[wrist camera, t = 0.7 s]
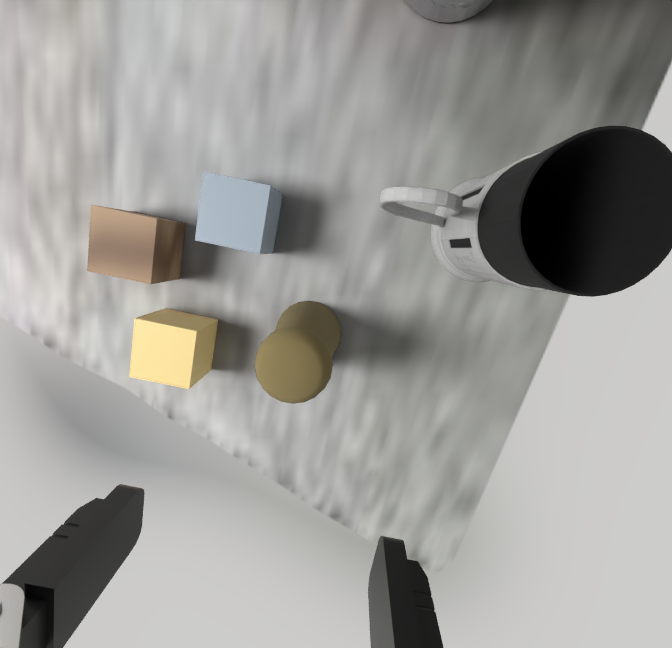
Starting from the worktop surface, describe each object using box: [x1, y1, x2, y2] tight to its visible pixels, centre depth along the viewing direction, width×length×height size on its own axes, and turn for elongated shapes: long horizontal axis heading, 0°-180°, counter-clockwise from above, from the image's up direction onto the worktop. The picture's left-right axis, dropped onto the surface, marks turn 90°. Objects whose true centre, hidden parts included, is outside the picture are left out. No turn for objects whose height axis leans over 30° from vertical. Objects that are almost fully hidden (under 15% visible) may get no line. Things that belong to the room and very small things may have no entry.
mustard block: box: [129, 308, 218, 389], centre depth 32 cm, size 5×5×5 cm
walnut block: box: [87, 205, 186, 284], centre depth 30 cm, size 5×5×5 cm
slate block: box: [195, 171, 283, 254], centre depth 29 cm, size 5×5×5 cm
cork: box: [255, 301, 341, 403], centre depth 28 cm, size 6×6×11 cm
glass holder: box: [379, 126, 672, 296], centre depth 24 cm, size 9×14×15 cm, turn 82°
